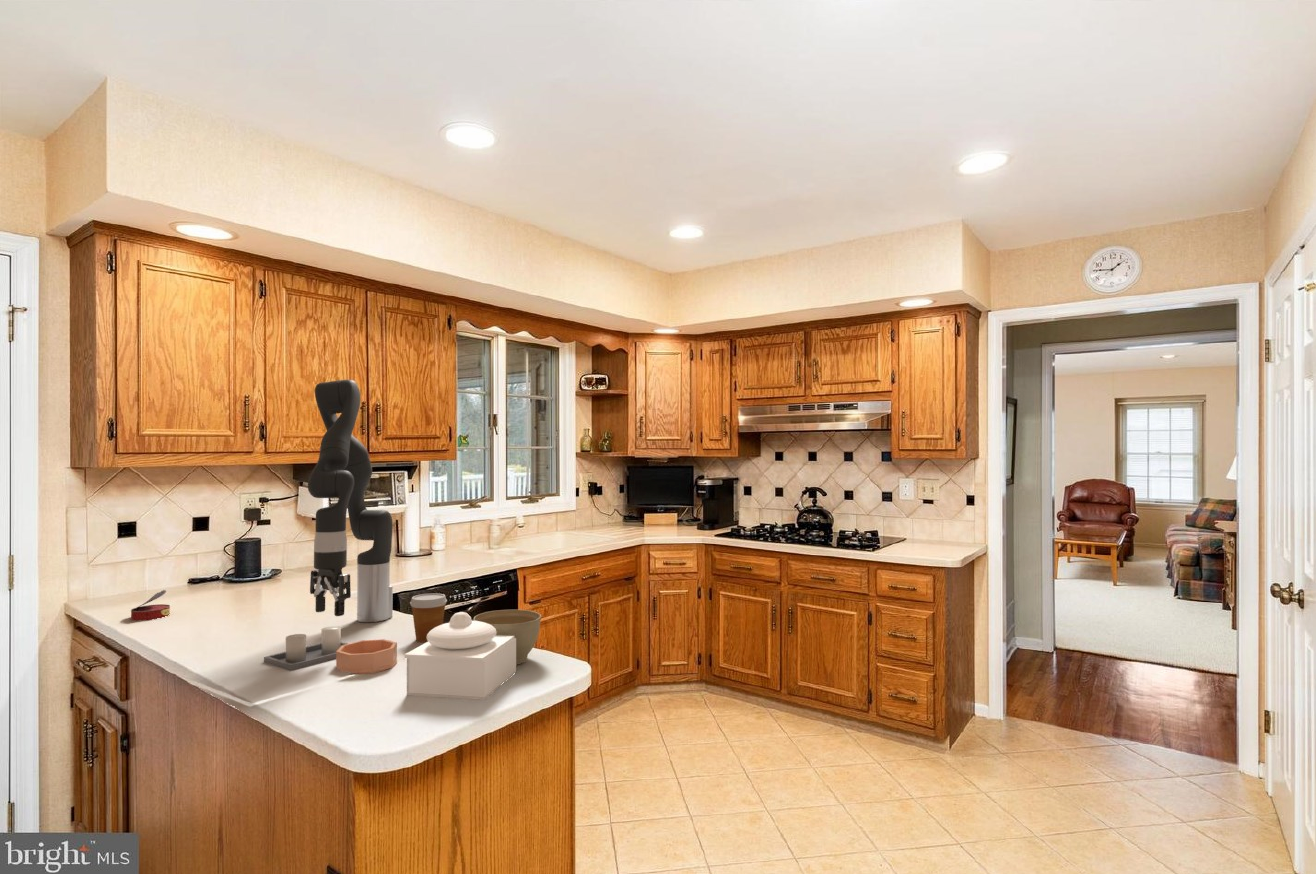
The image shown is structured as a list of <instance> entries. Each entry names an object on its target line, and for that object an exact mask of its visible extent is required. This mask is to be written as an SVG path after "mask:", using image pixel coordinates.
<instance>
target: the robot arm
mask: <svg viewBox="0 0 1316 874" xmlns="http://www.w3.org/2000/svg"><path fill="white" fill-rule="evenodd" d="M314 398H315V403H316V405H317V408H318V411H319V413H320V416H321V419H322V422H323V424H324V427H325V430H326V432H325V433H324V435H323V436H322V439H321V441H320V442H321V443H320V447H319V457H318V460H317V462H316V464H315V466H314V468H313V470H312V472H311V473H310V475H309V479H308V481H307V490H308V493H309V494H310V496H312V497H313V498H314V499H315V498H316V499H338V500H337V502H336V503H335V504H334V505H331V506H325V507H321V508H318V509H317V510H316V513H315V532H314V540H313V568H314V569H313V570H311V571H310V578H309V579H310V583H309V593H310V594H311V595H313V597H314V598H315V608H314V609H315V612H316V613H323V612H325V611H326V594H327V592H329V593H330V595H332V597H333V598H334V617H342V616H345V604H346V603H345V602H346V600H347V599H350V598H351V593H352V592H351V574H350V573H345V574H343V569H344V568H346V567H347V563H348V561H347V557H348V555H347V554H348V553H347V552H348V549H347V548H348V547H347V546H348V538H347V513H348V518H349V519H348V520H349V525H350V528H351V532H352V535H353V536H354V538H355V539H357V540H360V541H373V544H372V547H371V548H369V549H368V550H366V551H362V552H359V553H358V554H357V559H356V560H357V562H356V563H357V564H356V565H357V567H356V568H357V571H356V574H357V575H356V577H357V579H356V581H357V582H356V585H357V590H356V591H357V592H356V601H357V602H356V604H357V606H356V621H357V622H360V623H376V622H382V621H385V620H389V619H390V618H393V601H394V600H393V598H394V597H393V593H394V591H393V589H394V588H393V586H392V585H391V584H390V583H391V582H390V581H391V577H390V576H391V574H390V571H391V569H390V568H391V565H390V561H391V553H392V545H393V544H392V543H393V542H392V541H393V540H392V539H393V529H394V528H393V517H392V514H391V513H390V512H389V511H388V510H383V509H379V510H378V509H376V510H374V509H368V508H367V507H366V502H365V493H366V491H367V488H368V485H369V483H370V481H371V478H372V475H373V466H372V462H371V458H370V454H369V452H368V450H367V448H366V446H365V445H364V444H363V443H362V442H361V441H360V440H358V439H357V438H356V437H355V436H354V435H353V431H354V428H355V425H356V422H357V418H358V414H359V412H360V411H359V410H360V408H361V391H360V388H359V386H358V384H357V383H356V381H355V380H352V379H341V380H340V379H339V380H331V381H324V382H319V383H317V384H316V385H315V387H314ZM338 414H340V415H339V416H338Z"/></svg>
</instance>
